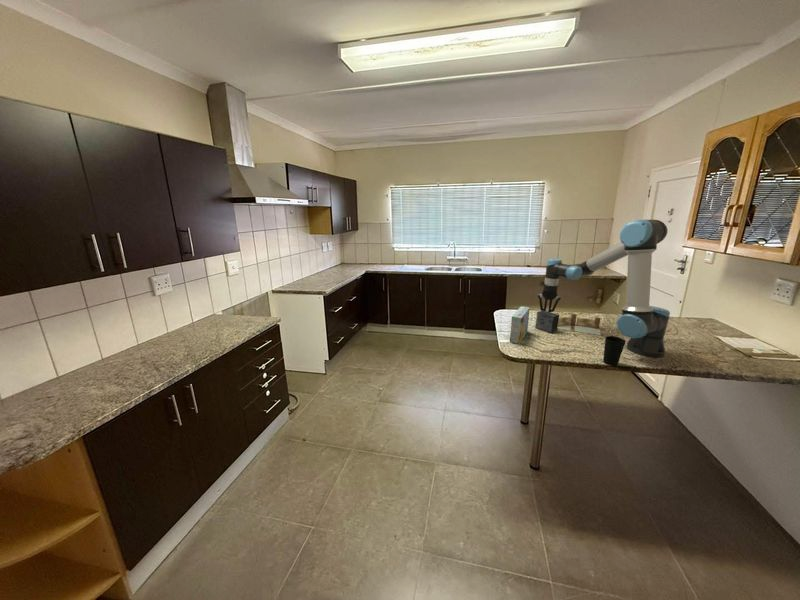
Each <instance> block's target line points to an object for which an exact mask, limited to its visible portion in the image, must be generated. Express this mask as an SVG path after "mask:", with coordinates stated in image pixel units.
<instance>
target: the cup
mask: <svg viewBox="0 0 800 600" xmlns="http://www.w3.org/2000/svg"><path fill="white" fill-rule="evenodd" d="M625 345H626V340H625V339H624V338H621V337H618V336H614V335H607V336H605V338H604V347H603V348H604V349H603V359H602V360H603V361H602V362H603V363H604V364H605V365H608V366H612V367H618V365H619V362H620V359H621V356H622V353H623V350H624V347H625Z"/></svg>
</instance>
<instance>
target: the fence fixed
mask: <svg viewBox="0 0 800 600" xmlns="http://www.w3.org/2000/svg"><path fill="white" fill-rule="evenodd" d="M577 316H578V315H577V314H576V313H571V316H570V317H571V318H572V319H571V325H575V323H576V325H580V326H586V327H593V328H595V329H599V330H600V323H601V320H602V319H601V317H595V318H594V319H590V318H586V317H585V318H584V317H579V316H578V317H577Z"/></svg>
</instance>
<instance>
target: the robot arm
mask: <svg viewBox="0 0 800 600" xmlns="http://www.w3.org/2000/svg"><path fill="white" fill-rule="evenodd" d="M667 235H668V227H667V225H666V223H664V221H661V220H659V219H637V220H631V221H630V222H628V223H626V224H625V225H624V226H623V227H622V229H621V230H620V233H619V241H620V242H619V243H616V244H614V245H613V246H611V247H609V248H606V249H605V250H604V251H602V252H600V253H598V254H596V255H594V256H592V257H591V258H588V259H587V260H585V261H584V262H581V263H576V264H575V263H574V264H566V263H565V264H564V263H562V259H560V258H548V260H547V263H546V266H545V267H546V268H545V269H546V270H545V276H544V285H543V290H542V292H541V293H539V294H537V297H538V300H539V308H540V311H547V312H551V313H554V312H555V309H556V308H557V305H558V303H559V302H560V300H561V298H562V297H561V296H559V295H558V288H559V281H560V278H564V279H569V280H573V281H574V280H576V281H577V280H579V279H580V278H582V277H588V276H591V275H593V274H594V273H595V272H596V271H598V270H600V269H601V270H602V268H605V267H606V266H609V265H612V264H613V263H614V262H617V261H619V260H621V259H623V258H625V257H627V278H626V280H627V281H626V296H625V297H626V299H625V301H626V302H625V303H626V304H625V305H624V306H623V307H622V308H621V315H620V316H619V317H618V318H617V321H616V328H617V329H618V331H619V333H621V334H622V335H623V336H624V337H626V338H629V340H628V341H627V344H626V349H628V350H629V351H630V352H632V353H634V354H637V355H640V356H644V357H650V358H661V357H662V358H663V357H664V356H665V352H666V348H665V341H664V339H665V334H666V330H667V327H668V323H669V319H670V314H671V312H670V310H668V309H666V308H662V307H658V306H653V305H650V299H651V298H650V297H651V277H652V257H653V253H654V252H655V251H657V249H658V246H657V245H658V244H659V243H661V242H662V241H664V240H665V239H666V237H667ZM542 298H544V299H545V300H544V304H543V299H542ZM555 299H556V300H555ZM548 300H549V304H548ZM553 300H555V301H554V304H553ZM552 304H553V307H552ZM543 305H544V306H543ZM547 305H549V306H547ZM547 307H548V310H547Z"/></svg>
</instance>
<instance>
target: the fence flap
mask: <svg viewBox="0 0 800 600" xmlns="http://www.w3.org/2000/svg"><path fill="white" fill-rule="evenodd" d="M571 319H572V318H571V316H567V317H566V316H565V317H559V320H558V326H561V325H571Z"/></svg>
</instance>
